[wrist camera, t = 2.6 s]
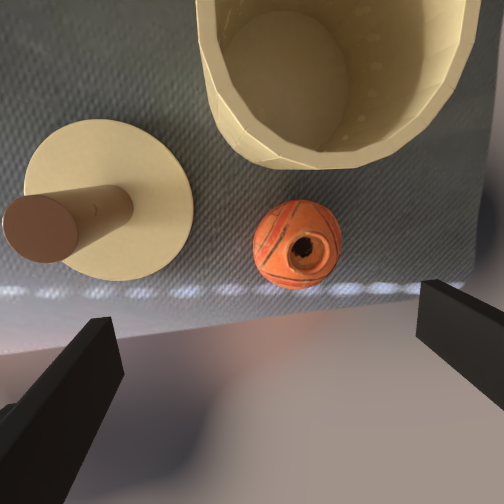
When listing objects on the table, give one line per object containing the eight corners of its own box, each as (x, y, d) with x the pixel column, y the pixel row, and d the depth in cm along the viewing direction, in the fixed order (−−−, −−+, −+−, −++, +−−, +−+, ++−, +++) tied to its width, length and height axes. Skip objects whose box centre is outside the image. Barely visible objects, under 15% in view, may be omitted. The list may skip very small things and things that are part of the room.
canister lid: (76, 84, 22) (-55, 7, 12) (222, 182, 26) (224, 192, 15) (6, 227, 25) (-156, 270, 14) (148, 300, 28) (104, 381, 17)
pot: (230, 217, 26) (254, 221, 20) (302, 188, 28) (344, 184, 22) (258, 292, 28) (287, 317, 22) (323, 261, 30) (367, 276, 24)
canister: (264, -38, 22) (320, -296, 10) (382, 72, 25) (536, -19, 13) (179, 111, 24) (138, 53, 12) (297, 195, 27) (360, 217, 15)
